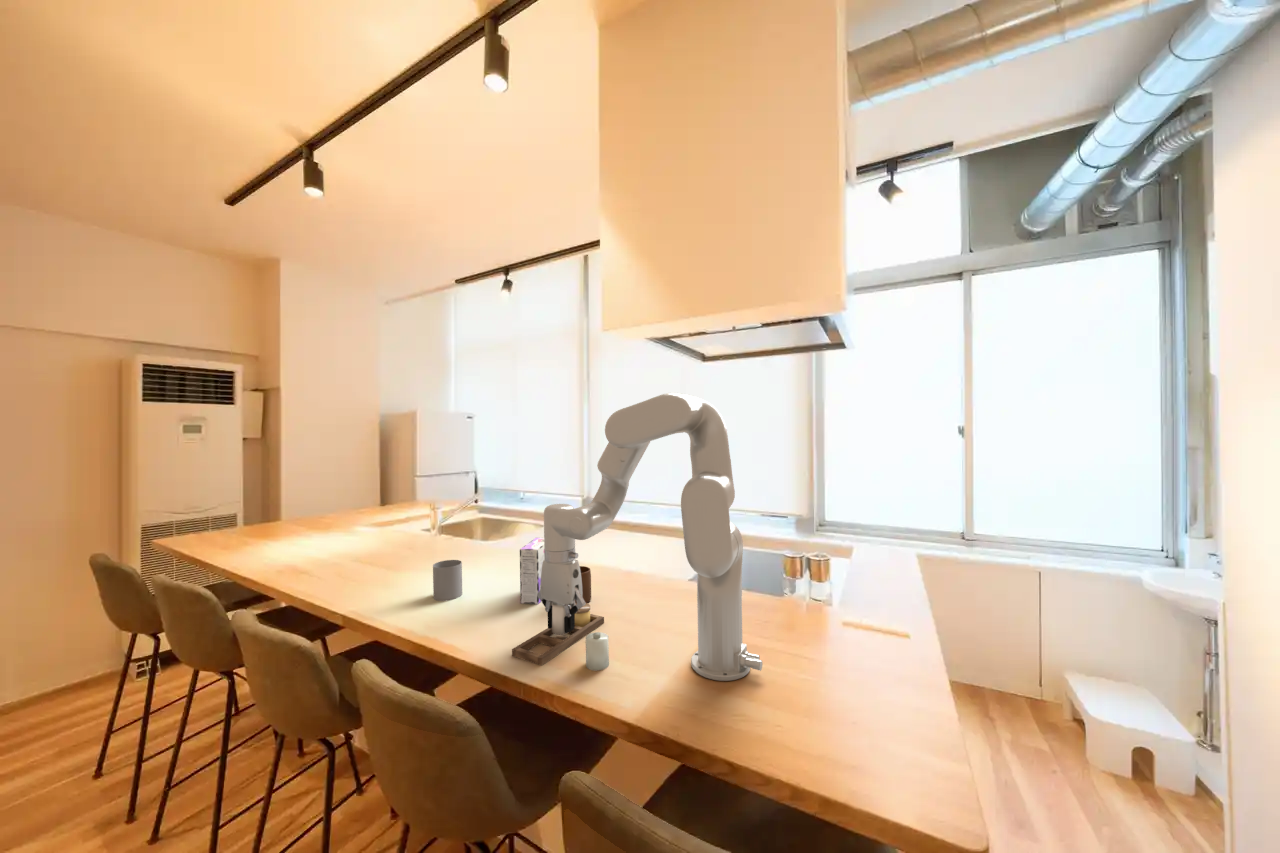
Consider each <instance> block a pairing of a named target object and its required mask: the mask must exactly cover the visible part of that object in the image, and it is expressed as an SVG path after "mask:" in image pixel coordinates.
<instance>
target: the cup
mask: <svg viewBox="0 0 1280 853" xmlns="http://www.w3.org/2000/svg"><path fill="white" fill-rule="evenodd" d="M462 565H463V562H462V560H458V559H446V560H441V561H438V562H435V563H433V565H432V580H433V581H432V583H433V584H432V585H433V586H432V587H433V588H432V589H433V600H435V601H438V602H444V601H452V600H455V599H458V598H460V597H462V596H463V566H462Z"/></svg>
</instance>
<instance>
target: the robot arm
mask: <svg viewBox="0 0 1280 853" xmlns="http://www.w3.org/2000/svg"><path fill="white" fill-rule="evenodd" d="M723 418H724V417H723V416H722V414H721V413H720V412H719V410H718V409H717V408H716V407H715V406H714V405H713V404H711V403H710V402H708V401H706V400H704V399H703V398H700V397H698V396H694V395H690V394H686V393H679V392H668V393H662V394H659V395H657V396H655V397H652V398H649V399H646V400H643V401H640V402H638V403H635V404H632V405H629V406H626V407H624V408H620V409H618V410H615V412H613V413H612V414H611V415H609V417H608V418H607V421H606V423H605V425H604V426H605V428H604V434H605V438H606V440H607V442H608V443H607V445H606V447H605V448H604V450H603V452H602V454H601V456H600V458H599V459H598V462H597V470H598V471H599V473H600V474H601V481H600V484H599V487H598V490H597V492H596V493H595V495H594V496H593V498H592V501H590V503H587V504H585V505H583V506H579V507H576V508H574V506H573V505H571V504H568V503H553V504H550V505H547V506H546V507H545V508H544V510H543V538H544V557H545V559H544V560H543V564H542V571H541V589H540V590H539V592H538V594H537V596H538V598H539V599H540V600H541V603H542V605H543V606H544V611H545V612H546V613H547V628H549V629H551V628H552V606H551V602H557V603H561V604H564V607H565V611H566V616H565V617H564V631H565V633H567V634H570V633H569V632H570V631H572V630H573V629H574V628H575V613H577V611H578V610H579V609H580V608H582V607H583V606H584V605H585V604H586V603H585V601H584V599H583V597H582V594H583V592H582V578H581V571H580V566H581V565H580V562H579V560H578V558H579V553H577V552H576V540H577V541H584V540H588V539H590V538H592V537H594V536H596V535H598V534H600V533H601V532H603V531H605V530H607V529H608V528H609V527H610V526H611V525H612V523H613V522H614V520H615V518H616V517H617V514H618V512H620V509H621V508H622V506H623V504H624V502H625V499H626V497H627V494H628V493H627V492H628V490H629V484H630V481H631V479H632V476H633V475H634V472H635V471H636V468H637V467H638V465H639V464H640V461H641V460H642V457H643V456H644V454H645V452H646V451H647V449H648V447H649V446H650V443H651V442H652V441H655V440H658V439H660V438H661V439H662V438H665V437H668V436H671V435H675V434H681V433H682V434H683V433H685V434H687V435H688V437H689V442H690V444H689V446H690V447H689V448H690V449H689V452H690V453H689V456H690V461H691V462H690V463H691V475H692V476H691V478H690V479H689V480H688V481H687V482H686V483H685V484H684V486H683V489H682V491H681V495H680V496H681V497H680V511H681V522H682V530H683V531H682V532H683V534H682V535H683V540H684V541H683V543H684V551H685V555H686V559H687V563H688V564H689V566H690V567H691V569H692V570H693V571H694V572H695V573H697V577H696V578H697V579H696V580H697V582H696V584H697V585H696V586H697V588H696V591H697V594H696V596H697V597H696V600H697V604H696V605H697V606H696V607H697V650H696V651H695V652H694V653H693V654H692V656H691V657H690V663H691V664H690V665H691V667H692V669H693V670H694V672H696V674H698V675H700V676H701V677H704V678H706V679H709V680H714V681H721V682H724V681H725V682H729V681H735V680H739V679H742V678H744V677H745V676H747V675H748V674H749V672H750V670H751V669H752V670H757V671H760V672H761V671H762V669H763V660H761V659H760V655H759V654H756V653H751V652H749V651H748V646H747V644H746V643H743V598H742V597H743V561H744V560H743V558H744V557H743V555H744V543H743V542H744V541H743V537H742V534H741V531H740V529H739V528H738V526H736V524H734V523H733V522H732V521H731V518H730V508H731V507H732V505H733V503H734V502H735V501H734V500H735V495H736V494H735V493H736V491H735V484H734V477H733V468H732V460H731V453H730V445H729V436H728V429H727V426H726V422H725V420H724V419H723ZM575 600H576V601H577V604H575ZM569 605H570V606H571V609H570V606H569Z"/></svg>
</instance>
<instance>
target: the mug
mask: <svg viewBox="0 0 1280 853" xmlns="http://www.w3.org/2000/svg"><path fill="white" fill-rule="evenodd" d="M579 566H580V571H581V578H582V592H583V594H582V597H583V599H584V601H585V603H588V604H589V603H590V602H591V600H592V574H591V571H592V570H591V568H590V567H588V566H586V565H585V566H583V565H579ZM575 603H577V601H576V600H575Z"/></svg>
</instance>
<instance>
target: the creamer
mask: <svg viewBox="0 0 1280 853" xmlns="http://www.w3.org/2000/svg"><path fill="white" fill-rule="evenodd" d="M551 606H552V633H553V635H555V636H564V635H567V634H568V633H565V631H564V617H565V616H566V611H565V607H564V604H561V603H557V602H551ZM569 606H571V605H569Z"/></svg>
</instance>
